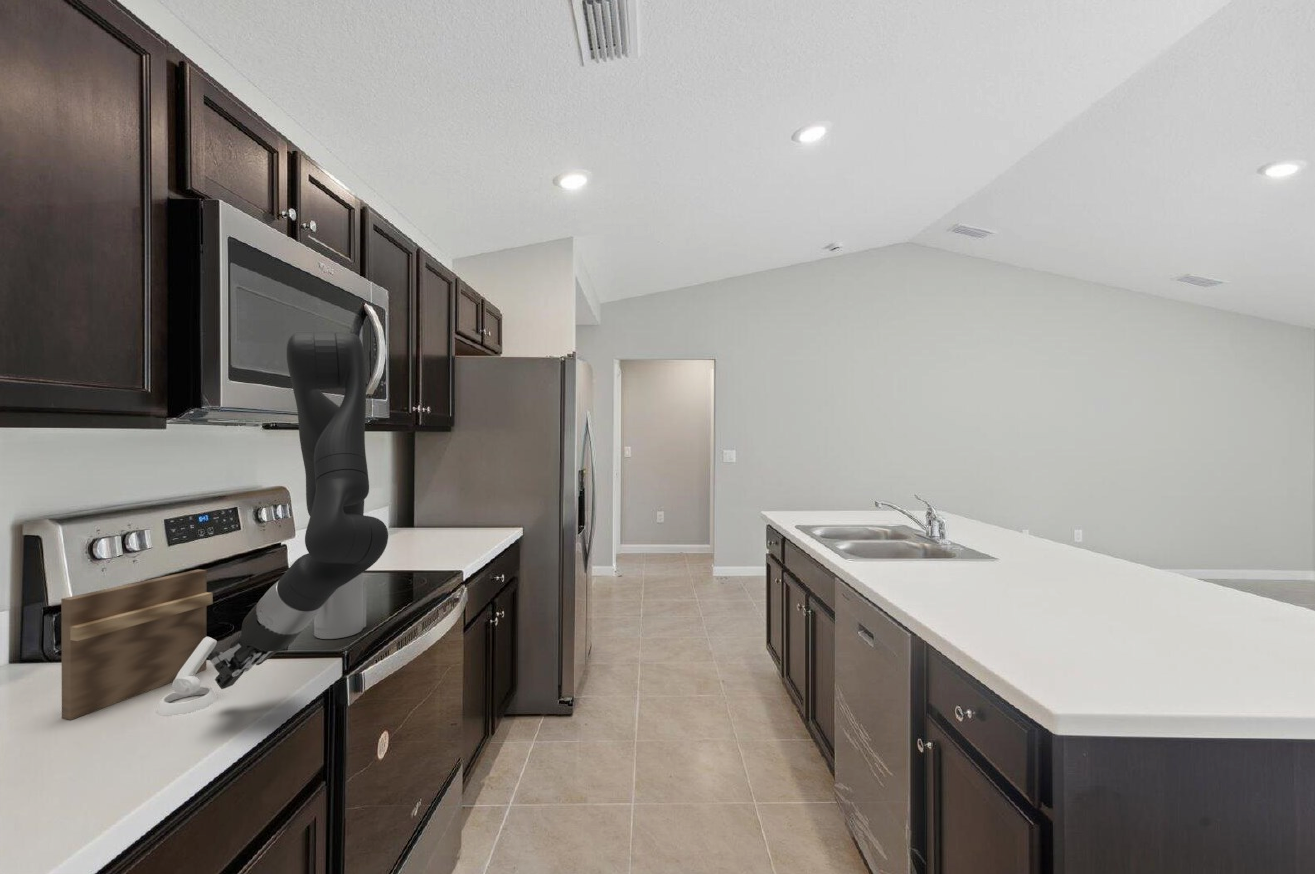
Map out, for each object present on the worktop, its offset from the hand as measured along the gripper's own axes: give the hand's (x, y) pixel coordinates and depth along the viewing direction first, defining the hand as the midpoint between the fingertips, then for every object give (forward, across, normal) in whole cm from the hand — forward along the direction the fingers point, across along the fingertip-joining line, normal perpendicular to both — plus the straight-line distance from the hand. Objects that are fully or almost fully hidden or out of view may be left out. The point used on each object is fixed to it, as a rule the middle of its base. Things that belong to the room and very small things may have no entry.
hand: (223, 682), depth 92 cm
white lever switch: (+9, 0, -2) cm, 9 cm away
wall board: (+17, -1, -11) cm, 20 cm away
